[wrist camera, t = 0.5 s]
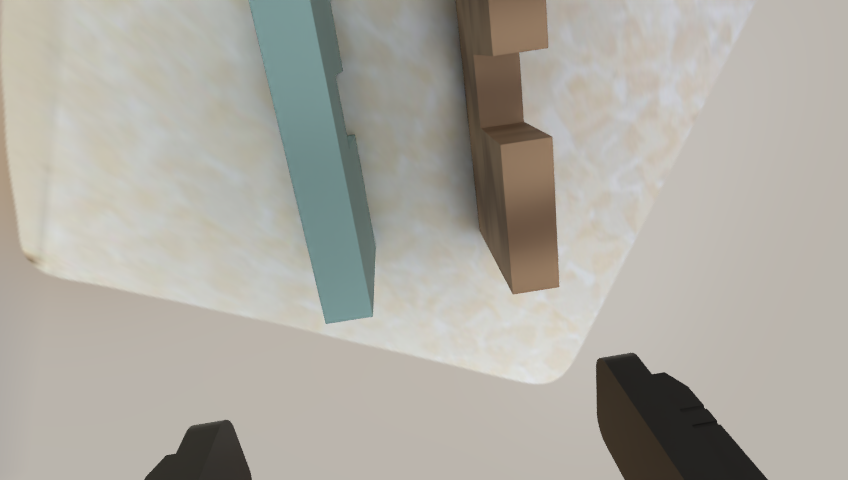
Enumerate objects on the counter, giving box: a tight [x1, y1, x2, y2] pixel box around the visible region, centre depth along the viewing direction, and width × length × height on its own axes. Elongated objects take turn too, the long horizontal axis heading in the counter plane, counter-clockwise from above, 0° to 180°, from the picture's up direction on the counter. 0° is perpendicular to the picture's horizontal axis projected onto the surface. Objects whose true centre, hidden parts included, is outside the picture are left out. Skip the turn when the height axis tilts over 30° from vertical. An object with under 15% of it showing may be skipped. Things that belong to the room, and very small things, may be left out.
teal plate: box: [249, 0, 376, 324], centre depth 28 cm, size 2×20×10 cm, turn 8°
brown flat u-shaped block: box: [456, 0, 559, 294], centre depth 28 cm, size 20×2×10 cm, turn 8°
